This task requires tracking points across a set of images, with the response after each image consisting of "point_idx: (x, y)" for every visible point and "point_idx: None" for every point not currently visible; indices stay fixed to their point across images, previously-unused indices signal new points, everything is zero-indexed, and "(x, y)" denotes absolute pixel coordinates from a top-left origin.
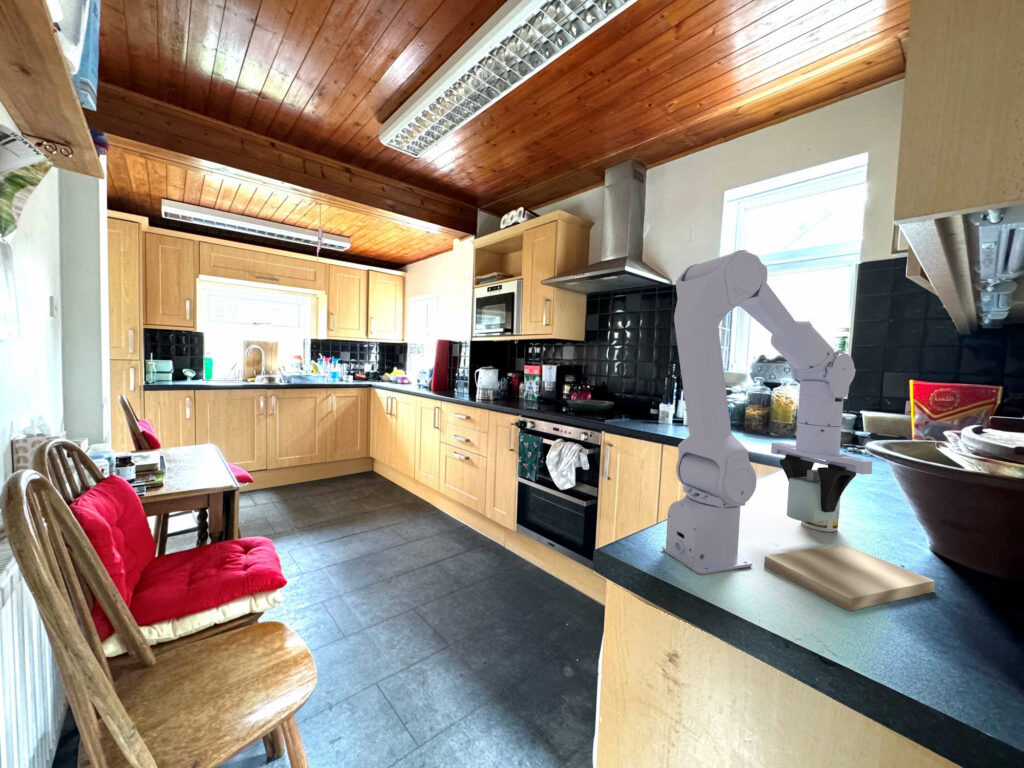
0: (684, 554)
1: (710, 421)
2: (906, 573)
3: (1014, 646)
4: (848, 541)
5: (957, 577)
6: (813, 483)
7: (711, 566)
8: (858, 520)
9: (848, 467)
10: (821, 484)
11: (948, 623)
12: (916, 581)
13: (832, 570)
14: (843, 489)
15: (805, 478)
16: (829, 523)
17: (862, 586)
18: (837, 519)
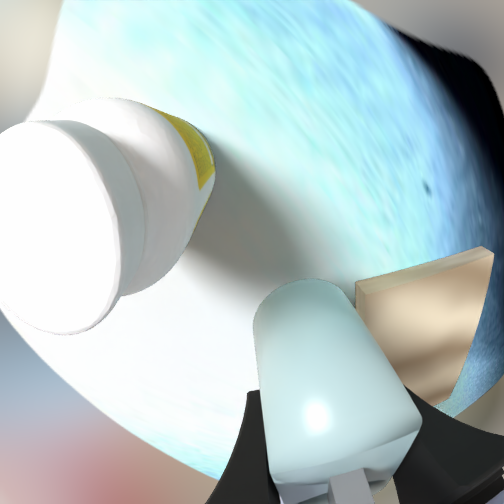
0: None
1: None
2: (472, 278)
3: None
4: (289, 178)
5: (468, 124)
6: (373, 489)
7: None
8: None
9: (498, 494)
10: (397, 479)
11: (496, 307)
12: (483, 289)
13: (417, 386)
14: (440, 415)
15: (308, 496)
16: (212, 185)
17: (451, 374)
18: (204, 143)
